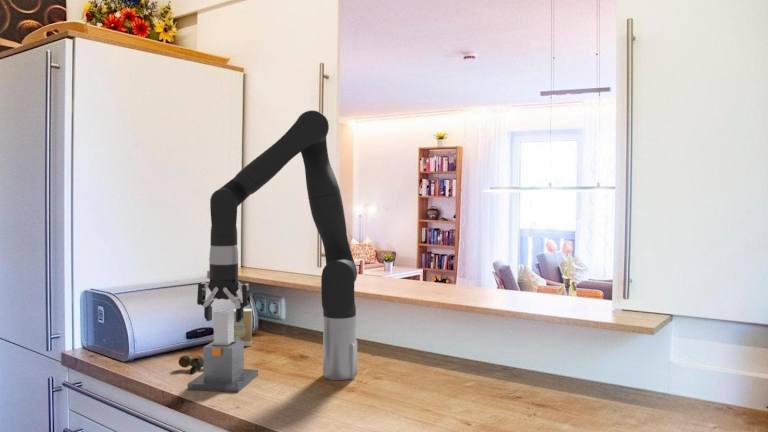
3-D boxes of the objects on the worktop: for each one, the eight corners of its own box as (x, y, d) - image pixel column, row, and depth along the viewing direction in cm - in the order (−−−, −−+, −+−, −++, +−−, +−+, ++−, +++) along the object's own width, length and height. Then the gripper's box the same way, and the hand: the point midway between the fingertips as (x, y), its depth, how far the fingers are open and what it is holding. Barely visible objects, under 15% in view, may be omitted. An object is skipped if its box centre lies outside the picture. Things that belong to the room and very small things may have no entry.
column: (234, 374, 152) (233, 309, 151) (228, 378, 148) (227, 312, 147) (220, 373, 152) (220, 309, 152) (214, 378, 148) (213, 311, 148)
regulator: (232, 370, 163) (185, 359, 165) (232, 359, 161) (184, 348, 163) (220, 386, 156) (171, 375, 158) (221, 375, 155) (171, 364, 156)
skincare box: (232, 347, 185) (232, 311, 185) (233, 343, 190) (233, 308, 189) (251, 346, 187) (251, 310, 186) (252, 342, 191) (252, 308, 190)
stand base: (258, 375, 156) (257, 338, 156) (238, 392, 142) (238, 351, 142) (211, 372, 158) (211, 336, 158) (187, 389, 144) (187, 349, 144)
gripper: (254, 261, 152) (253, 319, 152) (205, 259, 154) (205, 317, 154) (243, 264, 144) (243, 325, 145) (192, 262, 146) (192, 323, 147)
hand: (223, 321), depth 150 cm, fingers open, 8 cm apart
